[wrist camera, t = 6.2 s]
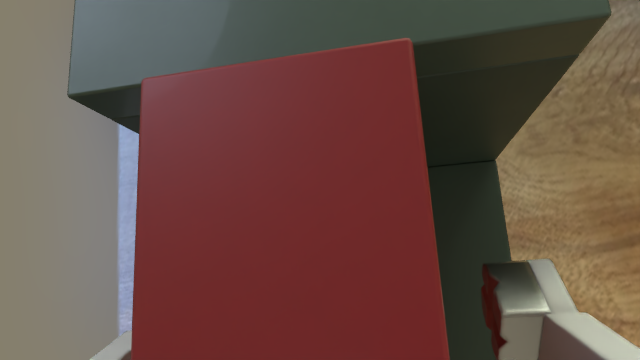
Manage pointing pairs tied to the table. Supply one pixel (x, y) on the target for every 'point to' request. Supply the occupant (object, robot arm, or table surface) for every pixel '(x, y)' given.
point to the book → (287, 212)
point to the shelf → (356, 29)
